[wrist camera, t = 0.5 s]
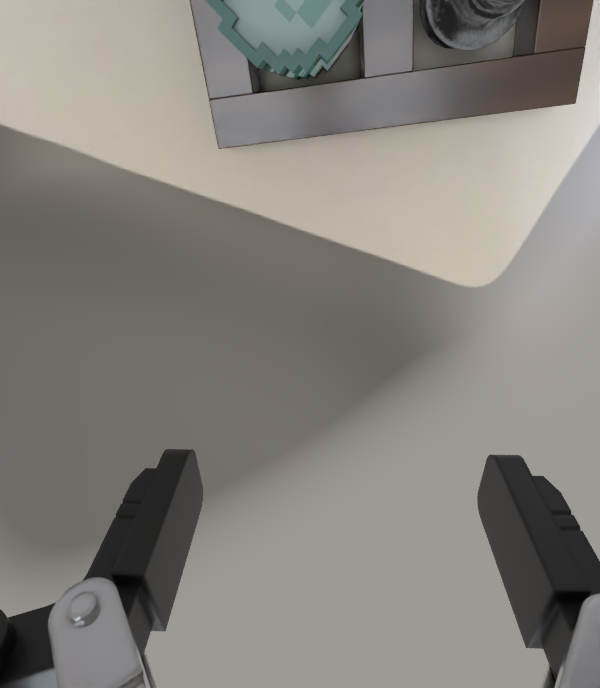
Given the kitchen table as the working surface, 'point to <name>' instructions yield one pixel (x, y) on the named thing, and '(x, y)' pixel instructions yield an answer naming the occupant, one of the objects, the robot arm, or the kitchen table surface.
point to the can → (289, 32)
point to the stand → (395, 77)
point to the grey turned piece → (468, 21)
